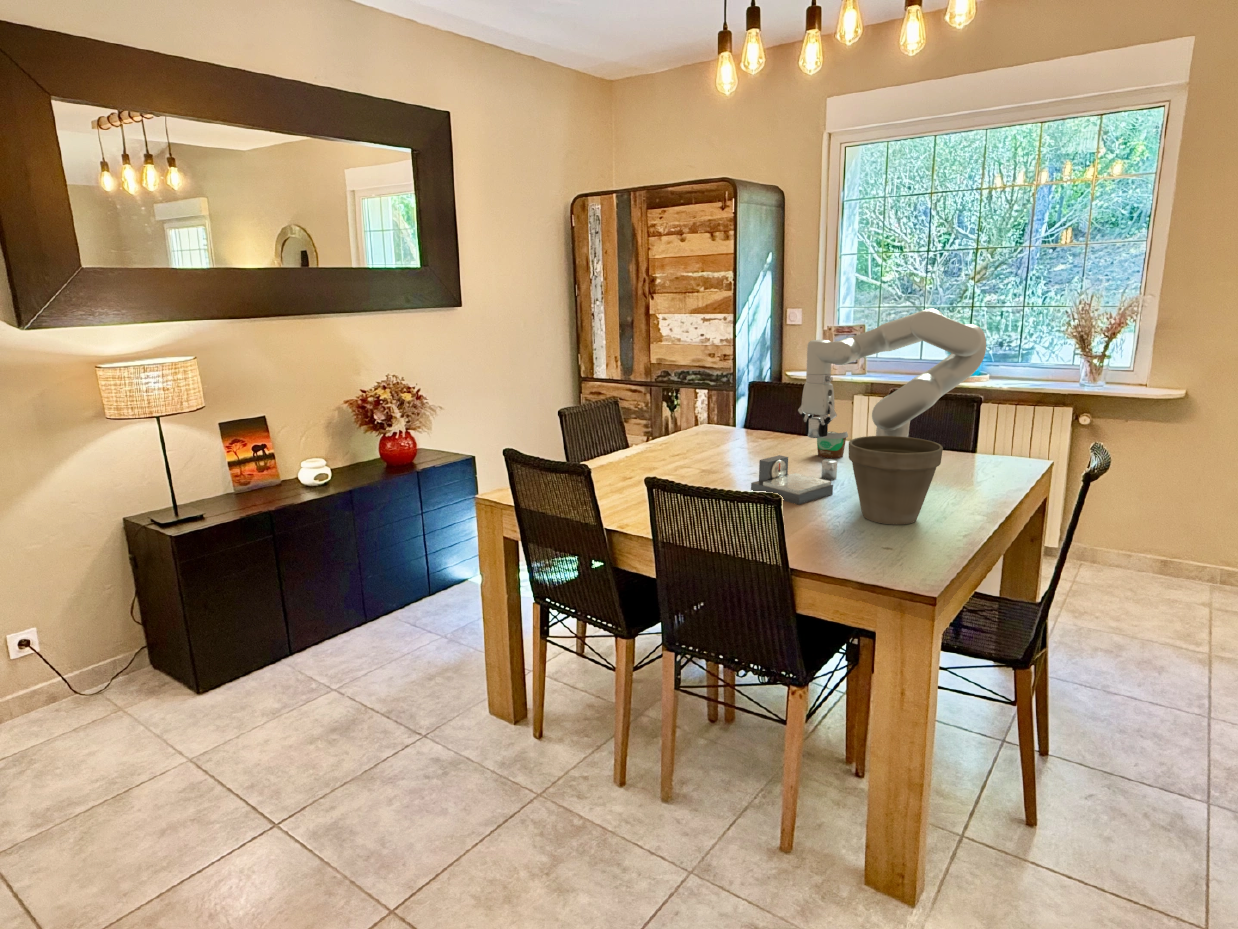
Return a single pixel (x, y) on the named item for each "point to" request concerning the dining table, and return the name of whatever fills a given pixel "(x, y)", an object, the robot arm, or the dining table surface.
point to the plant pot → (893, 475)
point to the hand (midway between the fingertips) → (816, 434)
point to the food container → (832, 445)
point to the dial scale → (789, 482)
